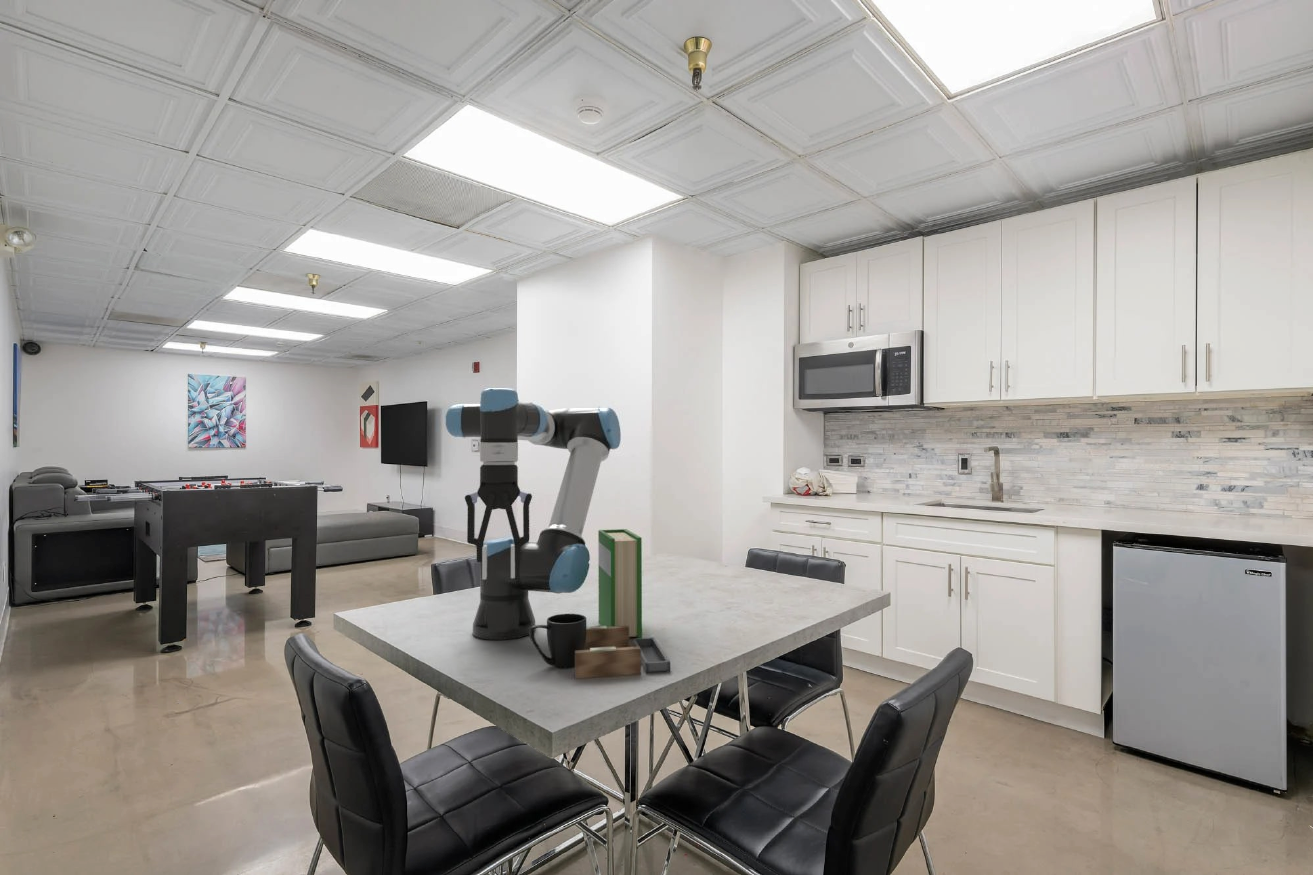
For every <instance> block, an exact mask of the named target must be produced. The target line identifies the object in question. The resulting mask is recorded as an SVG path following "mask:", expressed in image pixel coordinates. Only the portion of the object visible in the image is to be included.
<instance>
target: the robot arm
mask: <svg viewBox="0 0 1313 875" xmlns="http://www.w3.org/2000/svg"><path fill="white" fill-rule="evenodd" d="M444 423H445V426H446V430H447V432H448V433H449V434H450V435H451V436H453V437H454V438H458V437H459V438H480V439H479V440H480V444H479V445H480V446H479V447H480V448H479V458H480V459H479V461H480V462H481V463H482V464H481V465H480V467H479V487H478V489H477V491H475V492H473V493H471V494H470V493H469V494H466V495H465V496H464V500H465V502H466V506H467V521H466V523H467V526H466V527H467V528H466V530H467V531H466V532H467V533H466V534H467V536H466V538H467V539H466V541H467V544H469V545H474V546H475V547H476V562H477V563H479V564H480V565H479V571H480V572H479V584H480V588H479V591H480V595H479V598H480V600H479V603H478V608H477V610H476V613H475V617H474V620H473V622H472V635H473V636H474V637H476V638H479V639H482V640H483V639H484V640H492V641H494V640H496V641H498V640H510V639H511V640H512V639H518V638H522V637H525V636H528V635H529V636H530V628H531V627H532V626H536V619H535V615H534V611H533V609H532V607H531V603H530V599H529V592H540V593H541V592H543V593H554V594H557V595H559V594H571V593H574V592H576V591H577V590H580V588H581V587H582V586H583V584H584V583H585V580H586V579H587V576H588V574H589V570H590V563H589V562H590V560H591V557H590V551H589V549H588V547H587V546H586V541H585V540H584V537H583V532H584V527H585V524H586V521H587V520H586V519H587V517H588V514H589V509H590V505H591V501H592V499H593V498H592V497H593V494H594V491H595V487H596V482H597V478H598V474H599V470H600V467H601V463H602V462H604V461H606V460H607V459H608V457H609V455H610V451H611V450H616V449H618V448H619V446H620V444H621V437H622V436H621V427H620V426H621V425H620V421H619V418H618V415H617V413H616V411H615V410H614V409H612V408H611V407H601V406H598V407H582V408H581V407H577V408H574V407H573V408H568V407H567V408H566V407H565V408H558V409H550V410H544V408H543V407H541V405H538V404H535V403H533V402H524V401H519V396H518V392H517V390H516V389H513V388H504V387H502V388H501V387H500V388H499V387H493V388H486V389H485V388H484V389H483V390H482V391H481V393H480V403H460V404H454V405H452V406H450V407H449V408H448V409H447V411H446V414H445V422H444ZM518 441H528V442H529V443H531V444H532V445H538V446H544V447H550V448H553V449H561V450H562V449H563V450H568V452H569V453H570V454H569V457H568V461H567V463H566V468H565V471H564V474H563V477H562V480H561V484H560V488H559V491H558V494H557V498H556V501H555V503H554V507H553V511H552V514H551V518H550V520H549V524H548V527H547V528H544V529H543V530H541V531H540V533H539V535H538V539H537V542H530V504H531V501H532V499H533V495H532V493H529V492H528V493H527V492H524V491H521V488H520V487H519V484H518V482H519V476H518V475H519V468H518V467H519V466H518V465H517V464H516V463H517V462H518V461H519V457H518V456H519V455H518V454H519V452H518V451H519V443H518ZM518 497H520V502H521V503H522V515H523V516H522V519H523V520H522V521H523V522H522V525H523V526H522V528H523V529H522V532H523V534H522V535H520V533H519V528H518V524H517V521H516V517H515V514H514V510H513V504H514V503H515V501H516V500H517V498H518ZM478 498H480V500H481V501H482V503H483V504H484V505H485V510H484V513H483V518H482V521H481V525H480V529H479V533H478V537H475V534H476V533H475V532H476V531H475V529H476V528H475V526H476V525H475V524H476V522H475V521H476V517H475V516H476V506H475V504H477V502H478ZM498 509H499V510H505V514H506V516H507V519H508V525H509V527H510V532H511V536H507V537H502V538H501V537H500V538H494V539H489V540H485V538H486V534H487V531H488V527H489V523H490V520H491V515H492V512H493V510H498ZM484 541H485V542H484ZM535 631H536V629H534V632H535Z"/></svg>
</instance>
